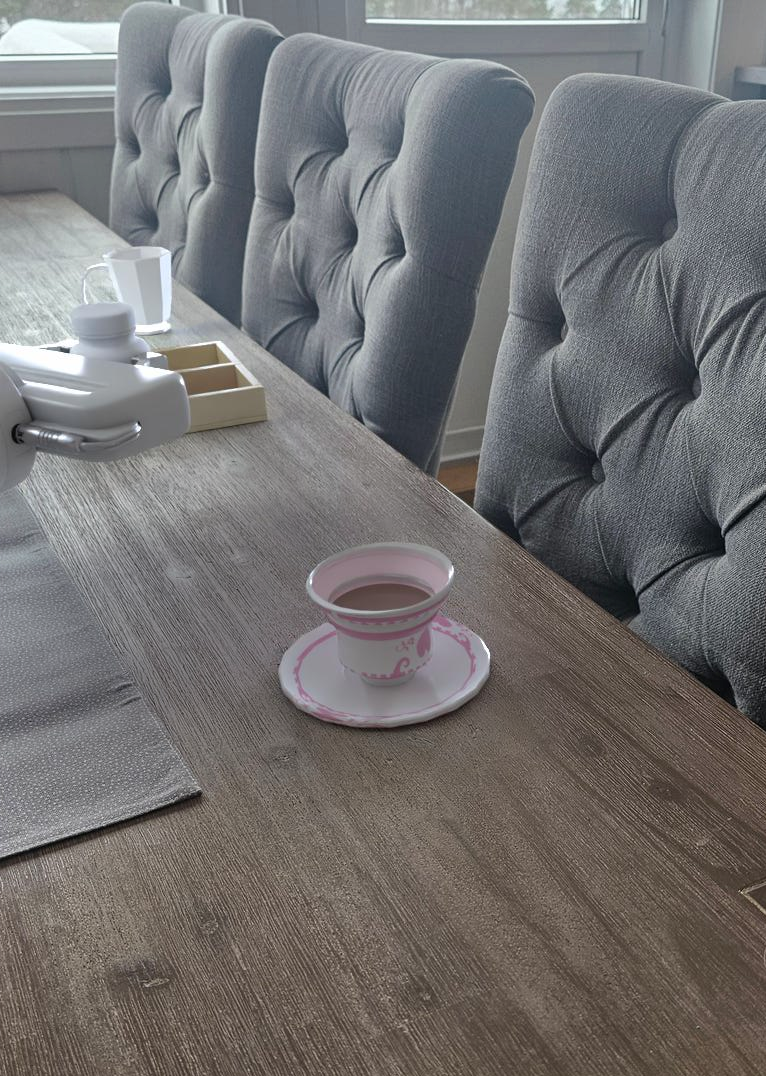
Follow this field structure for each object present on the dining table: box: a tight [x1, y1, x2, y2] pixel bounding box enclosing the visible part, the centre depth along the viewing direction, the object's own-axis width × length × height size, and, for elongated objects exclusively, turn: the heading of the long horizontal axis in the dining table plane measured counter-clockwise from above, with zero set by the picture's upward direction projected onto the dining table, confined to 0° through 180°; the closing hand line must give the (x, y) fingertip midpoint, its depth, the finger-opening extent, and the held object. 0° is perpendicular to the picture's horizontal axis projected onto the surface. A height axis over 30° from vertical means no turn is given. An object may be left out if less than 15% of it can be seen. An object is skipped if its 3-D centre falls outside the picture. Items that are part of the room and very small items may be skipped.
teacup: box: [277, 541, 491, 728], centre depth 62 cm, size 12×12×6 cm
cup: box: [80, 245, 173, 336], centre depth 121 cm, size 7×10×8 cm
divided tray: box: [150, 340, 269, 434], centre depth 101 cm, size 16×16×3 cm
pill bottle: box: [69, 301, 151, 365], centre depth 75 cm, size 5×5×9 cm
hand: (120, 358), depth 75 cm, fingers closed on pill bottle, 5 cm apart
